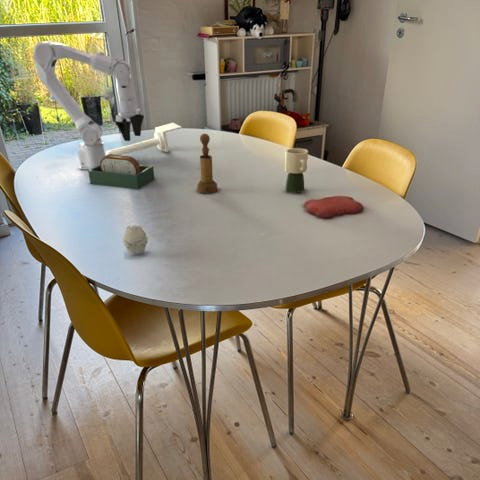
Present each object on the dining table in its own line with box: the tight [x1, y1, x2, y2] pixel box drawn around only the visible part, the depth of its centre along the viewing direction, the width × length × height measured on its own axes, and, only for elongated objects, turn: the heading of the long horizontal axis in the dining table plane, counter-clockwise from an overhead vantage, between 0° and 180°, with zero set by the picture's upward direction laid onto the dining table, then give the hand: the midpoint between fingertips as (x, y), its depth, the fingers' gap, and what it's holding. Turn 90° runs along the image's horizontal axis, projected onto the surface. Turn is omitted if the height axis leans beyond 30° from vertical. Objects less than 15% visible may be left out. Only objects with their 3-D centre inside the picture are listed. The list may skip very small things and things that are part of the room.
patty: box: [303, 195, 364, 219], centre depth 145 cm, size 18×14×2 cm
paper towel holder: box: [105, 122, 183, 156], centre depth 200 cm, size 9×9×32 cm
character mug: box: [284, 147, 309, 194], centre depth 155 cm, size 11×7×13 cm, turn 21°
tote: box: [87, 164, 155, 190], centre depth 169 cm, size 19×12×5 cm, turn 70°
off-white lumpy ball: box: [122, 224, 149, 255], centre depth 119 cm, size 6×7×7 cm
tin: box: [100, 154, 141, 175], centre depth 168 cm, size 15×3×8 cm, turn 70°
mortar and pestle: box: [196, 133, 218, 194], centre depth 156 cm, size 7×6×18 cm
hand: (132, 138), depth 180 cm, fingers open, 7 cm apart
